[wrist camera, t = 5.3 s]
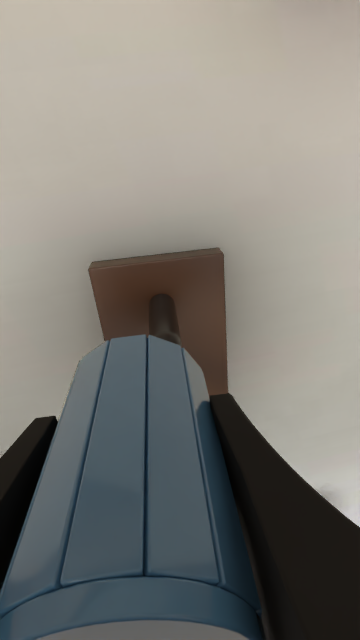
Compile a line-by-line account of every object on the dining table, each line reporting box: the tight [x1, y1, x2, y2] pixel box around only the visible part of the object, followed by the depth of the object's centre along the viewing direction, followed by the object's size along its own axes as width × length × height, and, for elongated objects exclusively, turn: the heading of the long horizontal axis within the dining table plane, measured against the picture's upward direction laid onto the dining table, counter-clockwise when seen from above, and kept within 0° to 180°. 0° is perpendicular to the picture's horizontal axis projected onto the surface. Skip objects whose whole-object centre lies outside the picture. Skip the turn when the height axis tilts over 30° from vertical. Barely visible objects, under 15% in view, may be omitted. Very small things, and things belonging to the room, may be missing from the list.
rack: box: [88, 248, 228, 398], centre depth 18 cm, size 15×7×6 cm, turn 5°
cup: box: [0, 334, 266, 640], centre depth 9 cm, size 5×5×8 cm
